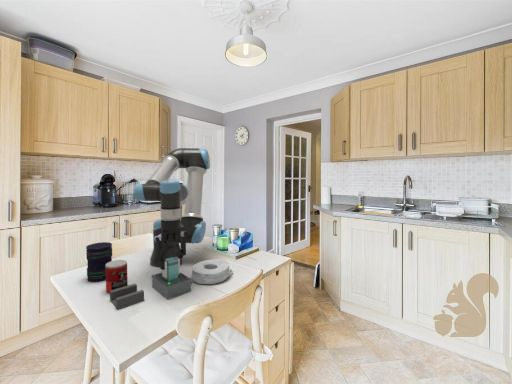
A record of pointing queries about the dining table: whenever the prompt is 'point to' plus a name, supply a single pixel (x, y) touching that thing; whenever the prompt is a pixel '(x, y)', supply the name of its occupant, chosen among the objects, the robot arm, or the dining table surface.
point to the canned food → (116, 275)
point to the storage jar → (98, 260)
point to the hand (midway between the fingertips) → (171, 274)
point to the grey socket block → (171, 285)
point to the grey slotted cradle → (126, 296)
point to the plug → (172, 269)
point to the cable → (211, 271)
